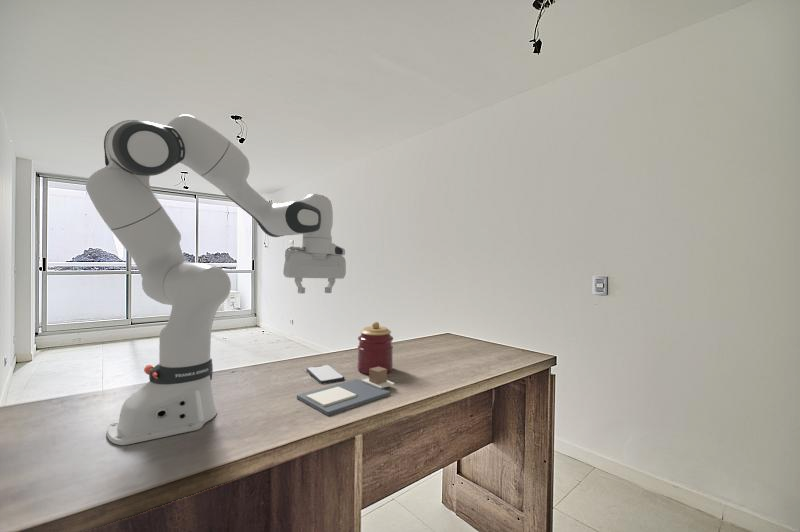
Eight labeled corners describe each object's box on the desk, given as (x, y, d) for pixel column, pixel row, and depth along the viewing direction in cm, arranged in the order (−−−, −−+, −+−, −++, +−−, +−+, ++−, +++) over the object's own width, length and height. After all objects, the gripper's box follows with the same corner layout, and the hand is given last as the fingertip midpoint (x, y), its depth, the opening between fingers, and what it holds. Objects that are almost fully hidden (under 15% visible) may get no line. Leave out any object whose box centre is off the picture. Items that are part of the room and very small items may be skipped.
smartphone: (345, 382, 124) (328, 368, 137) (345, 377, 124) (328, 364, 137) (320, 386, 119) (305, 372, 133) (320, 381, 119) (305, 367, 133)
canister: (376, 362, 145) (377, 317, 145) (400, 370, 136) (400, 322, 136) (350, 369, 136) (350, 321, 135) (373, 377, 127) (374, 326, 126)
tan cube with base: (380, 388, 113) (380, 374, 113) (361, 381, 119) (361, 367, 119) (394, 384, 117) (394, 370, 117) (375, 377, 123) (376, 364, 123)
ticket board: (328, 415, 96) (328, 409, 96) (296, 398, 107) (296, 392, 107) (390, 394, 111) (390, 389, 111) (357, 381, 122) (357, 376, 122)
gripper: (291, 245, 105) (288, 294, 104) (349, 250, 119) (347, 293, 119) (280, 245, 109) (278, 292, 109) (338, 250, 123) (336, 292, 123)
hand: (315, 293), depth 114 cm, fingers open, 8 cm apart
